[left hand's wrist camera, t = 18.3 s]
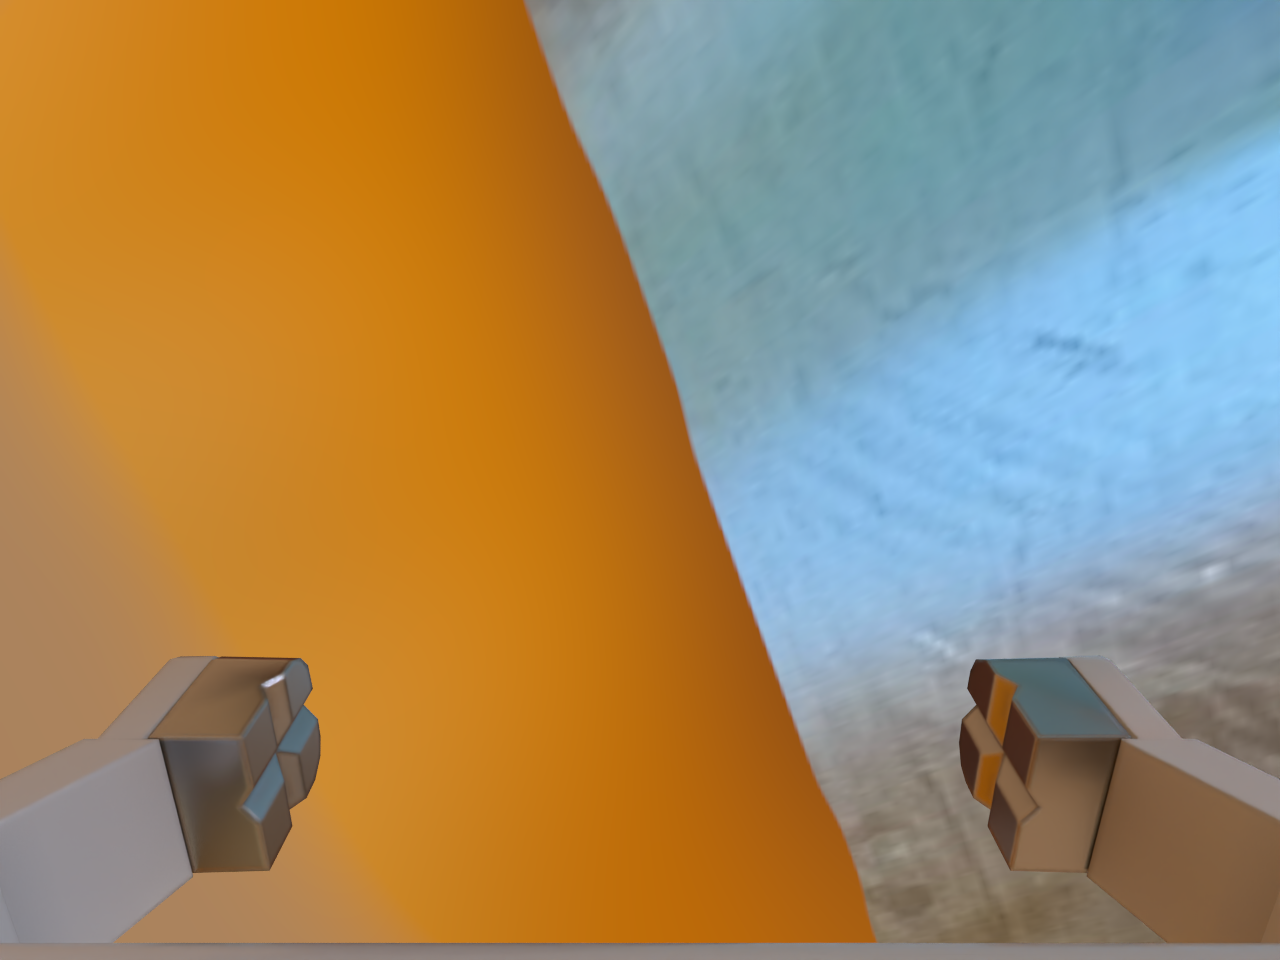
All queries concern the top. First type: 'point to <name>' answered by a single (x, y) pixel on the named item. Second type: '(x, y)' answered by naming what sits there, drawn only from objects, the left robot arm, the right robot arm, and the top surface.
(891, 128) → the top surface
